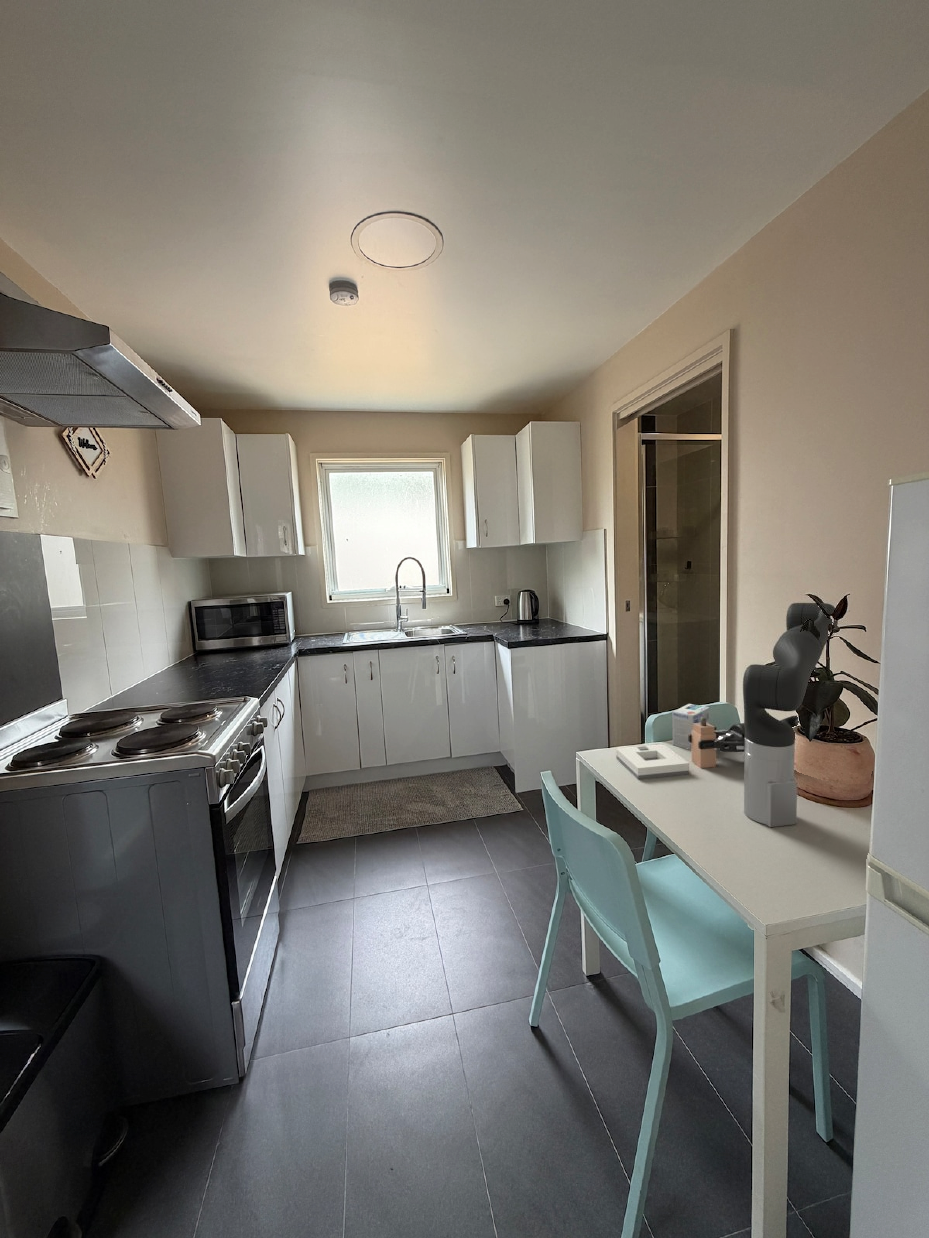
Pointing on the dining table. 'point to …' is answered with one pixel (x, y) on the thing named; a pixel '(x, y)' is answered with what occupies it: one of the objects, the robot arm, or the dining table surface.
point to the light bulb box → (687, 722)
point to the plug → (700, 733)
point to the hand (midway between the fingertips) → (694, 741)
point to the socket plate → (652, 761)
